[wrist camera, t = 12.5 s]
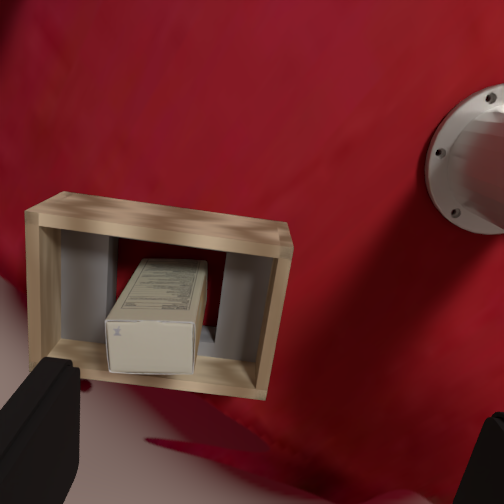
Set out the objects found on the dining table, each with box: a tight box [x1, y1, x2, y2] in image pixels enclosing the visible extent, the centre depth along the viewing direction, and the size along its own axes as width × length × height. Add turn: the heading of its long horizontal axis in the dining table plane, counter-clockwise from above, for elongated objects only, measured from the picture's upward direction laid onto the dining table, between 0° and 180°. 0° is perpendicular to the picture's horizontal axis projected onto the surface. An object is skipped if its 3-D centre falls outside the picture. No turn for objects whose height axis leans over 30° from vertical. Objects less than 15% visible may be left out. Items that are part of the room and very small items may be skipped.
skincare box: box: [105, 259, 208, 375], centre depth 36 cm, size 6×4×12 cm
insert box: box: [25, 191, 294, 400], centre depth 38 cm, size 20×14×7 cm
